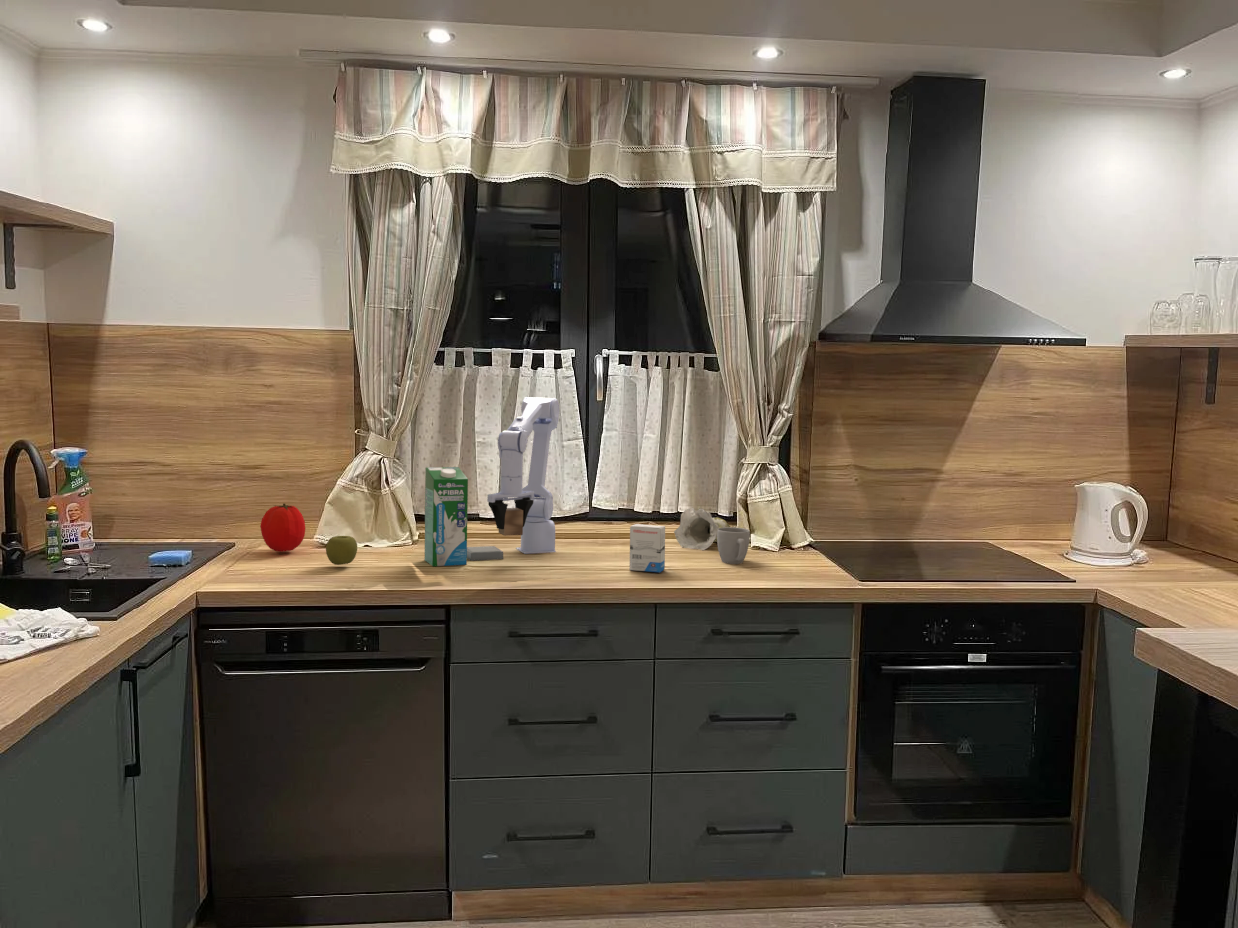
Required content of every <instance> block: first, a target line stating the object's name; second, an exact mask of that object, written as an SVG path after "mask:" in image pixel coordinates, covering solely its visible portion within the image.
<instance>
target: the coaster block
mask: <svg viewBox="0 0 1238 928" xmlns="http://www.w3.org/2000/svg"><path fill="white" fill-rule="evenodd" d="M467 559H468V560H469V561H470V562H471V561H473V562H474V561H490V560H491V561H492V560H493V561H494V560H504V551H503V550H501V549H500V548H498V547H497V546H495V545H486V546H484V545H483V546H467Z"/></svg>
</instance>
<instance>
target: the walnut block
mask: <svg viewBox="0 0 1238 928" xmlns="http://www.w3.org/2000/svg"><path fill="white" fill-rule="evenodd" d="M497 532H498V534H501V535H503V536H504V537H506V536H507V537H509V536H521V535H523V510H521V509H519V508H515V507H507V509H506V513H505V525H504V529H498V531H497Z"/></svg>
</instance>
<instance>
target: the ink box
mask: <svg viewBox="0 0 1238 928" xmlns="http://www.w3.org/2000/svg"><path fill="white" fill-rule="evenodd" d="M665 558H666V526H665V525H651V524H643V523H641V524H639V523H635V524H632V525H630V527H629V571H637V572H648V573H649V572H651V573H662V572H663V571H665V567H666V566H665V563H666V561H665Z"/></svg>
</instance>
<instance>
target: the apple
mask: <svg viewBox="0 0 1238 928" xmlns="http://www.w3.org/2000/svg"><path fill="white" fill-rule="evenodd" d="M357 553H358V543H357V541H356V539H355V538H354V537H352V536H350V535H335V536H332V537H331V538H329V539H328V541H327V543H326V546H325V554H326V556H327V558H328V560H329V561H330V563H331V564H333V565H335V566H337V565H338V566H339V565H348V564H350V563H352V562H353V561H354V560H355V558H356V556H357Z"/></svg>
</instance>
